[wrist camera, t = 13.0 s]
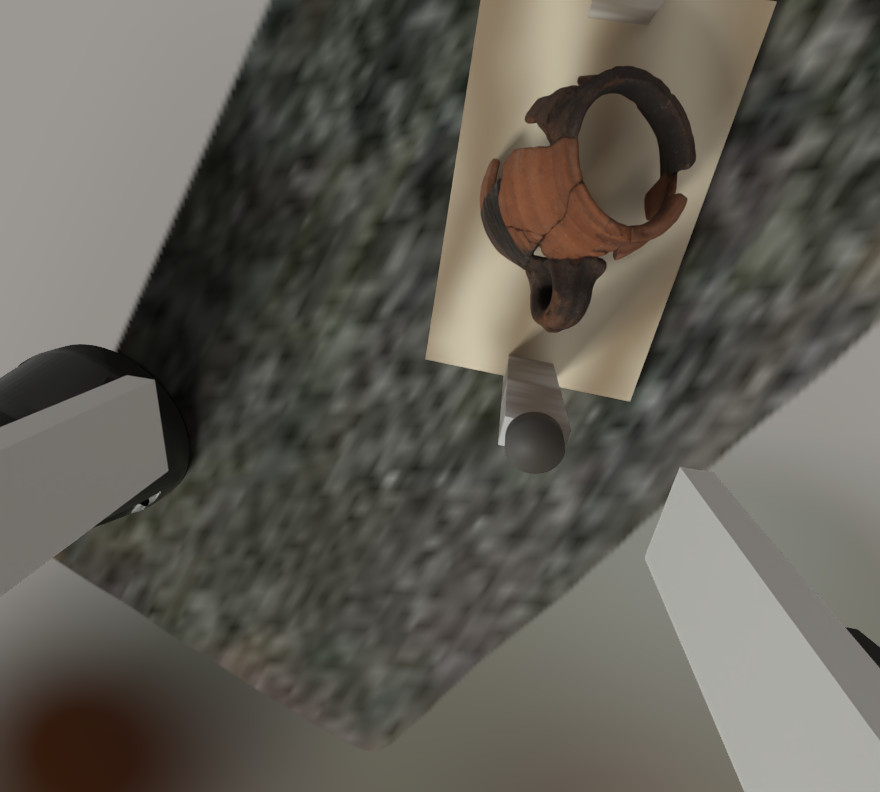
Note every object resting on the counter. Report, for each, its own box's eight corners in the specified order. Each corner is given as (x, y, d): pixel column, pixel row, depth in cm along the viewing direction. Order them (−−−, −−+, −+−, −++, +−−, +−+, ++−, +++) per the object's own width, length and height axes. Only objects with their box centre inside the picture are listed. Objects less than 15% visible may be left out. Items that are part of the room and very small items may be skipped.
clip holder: (427, 361, 31) (377, 439, 20) (489, -36, 22) (463, -290, 11) (623, 402, 30) (686, 508, 19) (768, -2, 21) (1048, -250, 10)
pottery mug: (468, 119, 25) (547, 16, 17) (606, 145, 27) (728, 69, 20) (462, 332, 26) (532, 328, 18) (594, 336, 29) (702, 334, 21)
